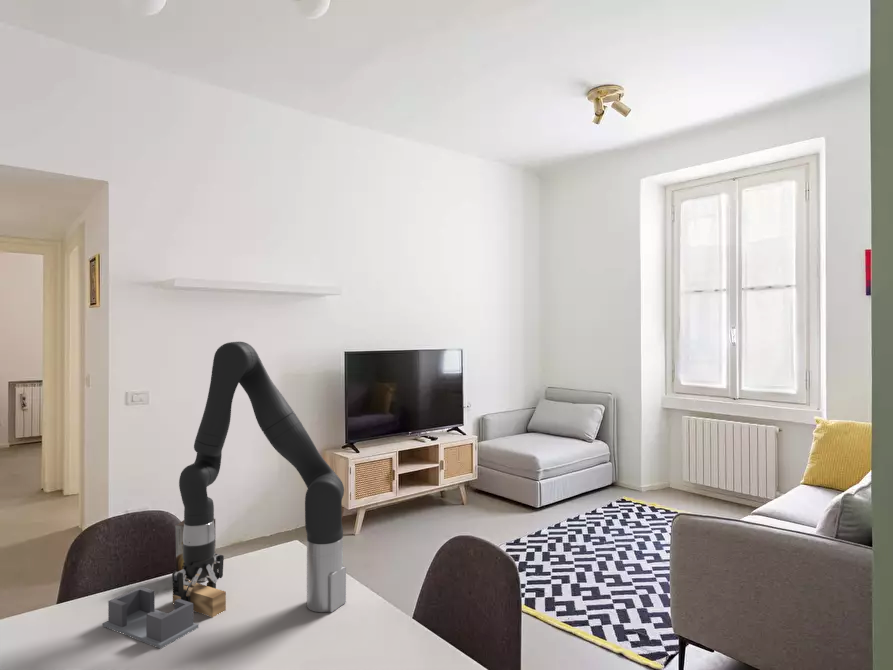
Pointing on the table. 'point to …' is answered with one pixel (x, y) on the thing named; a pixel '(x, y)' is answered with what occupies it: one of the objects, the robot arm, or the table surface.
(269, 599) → the table surface
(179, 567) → the coffee box
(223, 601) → the wooden block
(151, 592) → the end caps
